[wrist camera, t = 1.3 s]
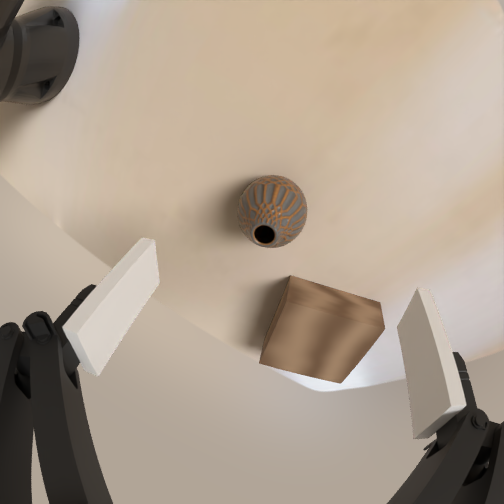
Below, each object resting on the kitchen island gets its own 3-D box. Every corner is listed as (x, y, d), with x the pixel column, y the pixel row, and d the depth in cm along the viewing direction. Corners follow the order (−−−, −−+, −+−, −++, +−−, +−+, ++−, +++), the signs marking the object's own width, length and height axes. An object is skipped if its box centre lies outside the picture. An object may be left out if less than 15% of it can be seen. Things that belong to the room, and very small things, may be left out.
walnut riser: (264, 338, 45) (259, 363, 41) (290, 275, 38) (286, 301, 34) (341, 358, 44) (340, 383, 40) (380, 302, 37) (385, 328, 33)
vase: (243, 218, 35) (222, 259, 28) (250, 162, 31) (228, 190, 24) (300, 231, 34) (295, 276, 27) (314, 175, 30) (313, 207, 23)
